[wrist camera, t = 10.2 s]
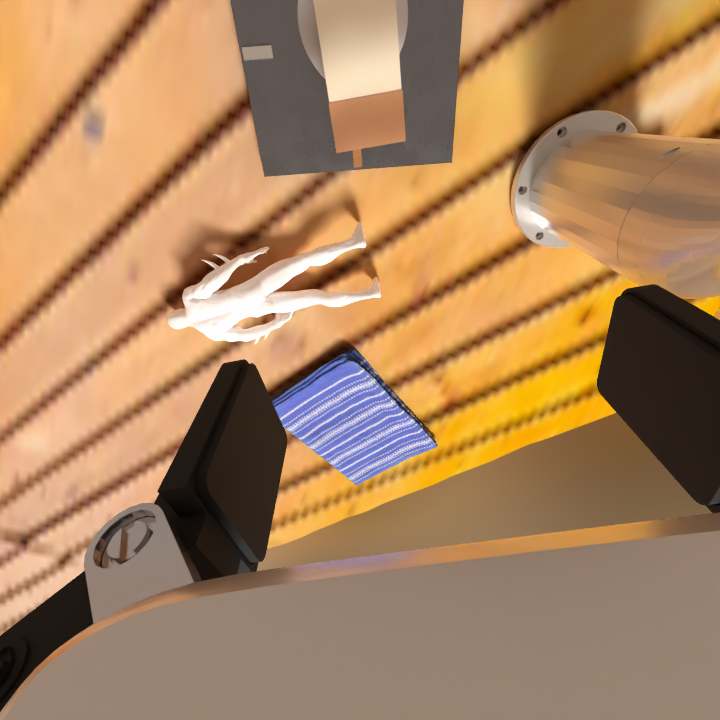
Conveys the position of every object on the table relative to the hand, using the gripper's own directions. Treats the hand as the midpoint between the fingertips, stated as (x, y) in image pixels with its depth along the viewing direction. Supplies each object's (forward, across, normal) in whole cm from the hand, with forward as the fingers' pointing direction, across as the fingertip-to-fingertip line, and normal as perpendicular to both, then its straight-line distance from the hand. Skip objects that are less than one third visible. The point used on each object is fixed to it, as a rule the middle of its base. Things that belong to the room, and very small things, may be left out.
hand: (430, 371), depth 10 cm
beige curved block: (+24, 0, -10) cm, 26 cm away
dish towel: (+33, +9, +33) cm, 48 cm away
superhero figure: (+33, +14, +8) cm, 37 cm away
